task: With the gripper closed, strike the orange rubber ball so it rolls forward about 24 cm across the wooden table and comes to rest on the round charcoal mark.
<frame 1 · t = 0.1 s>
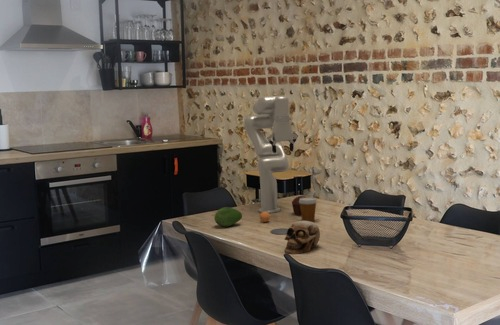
hand: (283, 151, 336), 37 cm above the table, tool pointing down, fingers open, 9 cm apart
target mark: (282, 231, 314), on the table
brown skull: (301, 249, 282), on the table
ball: (265, 216, 336), on the table
fruit: (228, 226, 331), on the table
muffin: (302, 214, 352), on the table
disposable coffee cup: (308, 221, 335), on the table
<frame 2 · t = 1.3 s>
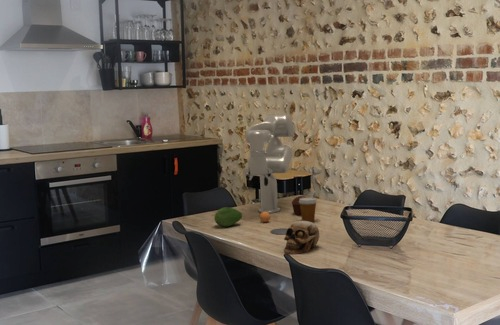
hand: (258, 186, 342), 18 cm above the table, tool pointing down, fingers open, 8 cm apart
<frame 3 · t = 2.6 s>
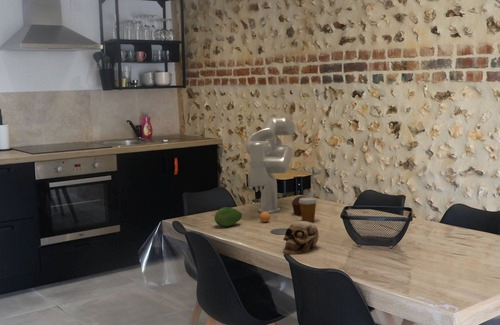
hand: (258, 198, 343), 11 cm above the table, tool pointing down, fingers closed
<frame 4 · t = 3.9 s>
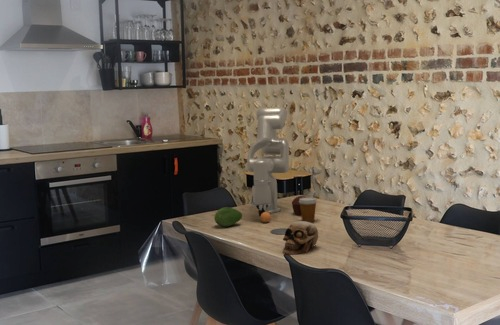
hand: (262, 217, 339), 2 cm above the table, tool pointing down, fingers closed
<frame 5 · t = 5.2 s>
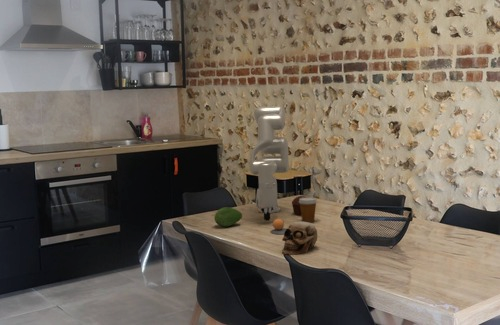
hand: (267, 220, 333), 2 cm above the table, tool pointing down, fingers closed
ball: (278, 224, 317), on the table
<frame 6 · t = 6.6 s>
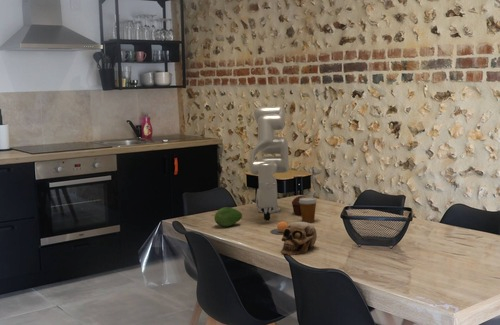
hand: (267, 220, 333), 2 cm above the table, tool pointing down, fingers closed
ball: (282, 227, 311), on the table
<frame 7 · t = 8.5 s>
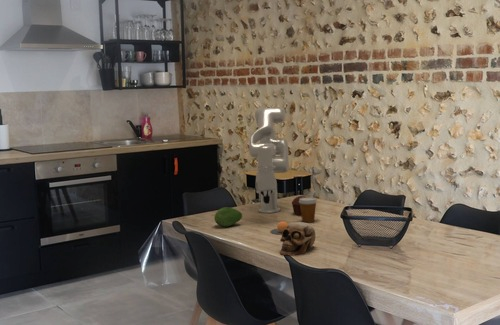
hand: (266, 203, 333), 11 cm above the table, tool pointing down, fingers closed
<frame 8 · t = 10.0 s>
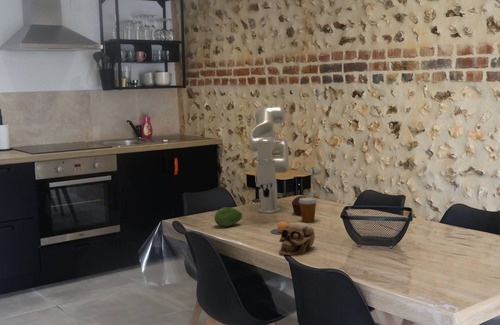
hand: (266, 196, 332), 14 cm above the table, tool pointing down, fingers closed
at the end: ball 2.1 cm from the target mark (horizontally); ball at rest at the end (0.0 cm/s); ball moved 26.0 cm from its start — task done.
